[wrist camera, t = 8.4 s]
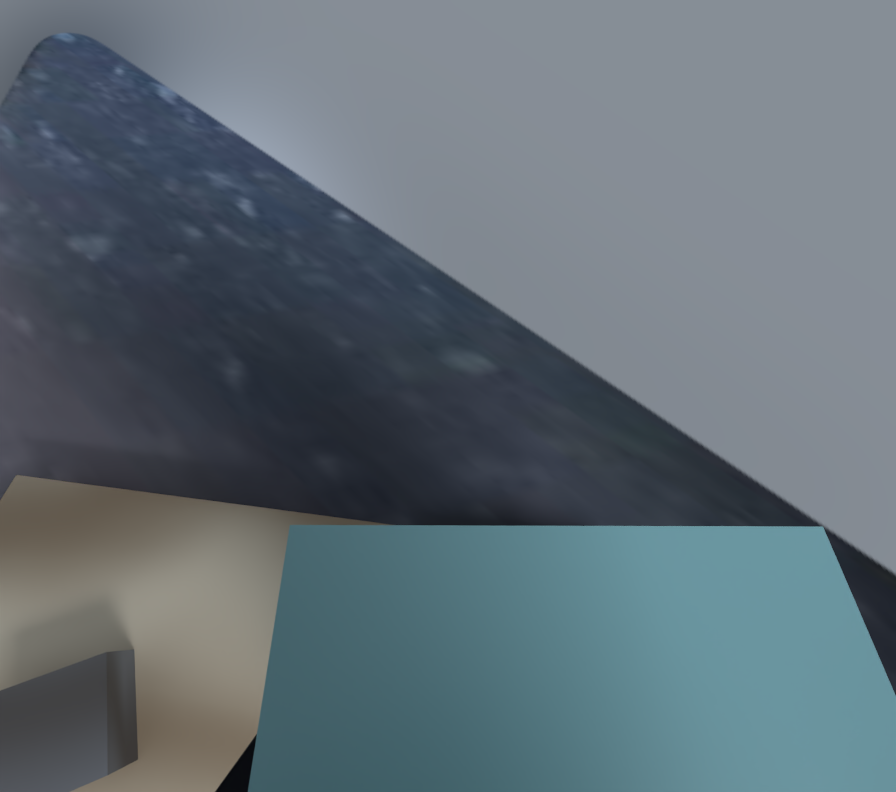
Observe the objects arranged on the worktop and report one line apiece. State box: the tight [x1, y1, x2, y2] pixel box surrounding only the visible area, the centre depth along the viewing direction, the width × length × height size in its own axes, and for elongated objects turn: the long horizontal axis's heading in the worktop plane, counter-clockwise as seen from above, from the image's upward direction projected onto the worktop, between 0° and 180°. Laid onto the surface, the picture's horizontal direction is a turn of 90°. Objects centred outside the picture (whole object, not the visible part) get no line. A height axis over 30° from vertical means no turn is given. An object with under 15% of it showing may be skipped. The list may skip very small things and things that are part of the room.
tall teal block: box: [248, 525, 896, 792], centre depth 8 cm, size 5×5×11 cm
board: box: [0, 475, 390, 792], centre depth 12 cm, size 16×24×3 cm, turn 84°
